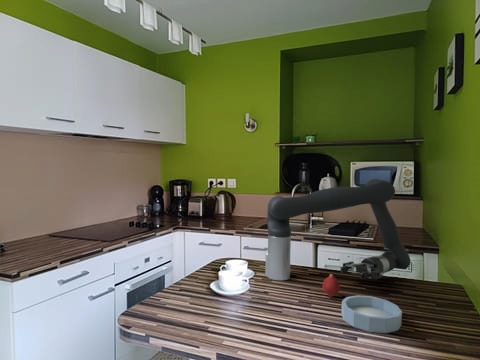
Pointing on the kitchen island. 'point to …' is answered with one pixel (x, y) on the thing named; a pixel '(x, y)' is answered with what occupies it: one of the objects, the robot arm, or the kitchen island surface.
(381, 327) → the faceted shallow dish
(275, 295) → the kitchen island surface
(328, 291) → the onion
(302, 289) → the kitchen island surface
